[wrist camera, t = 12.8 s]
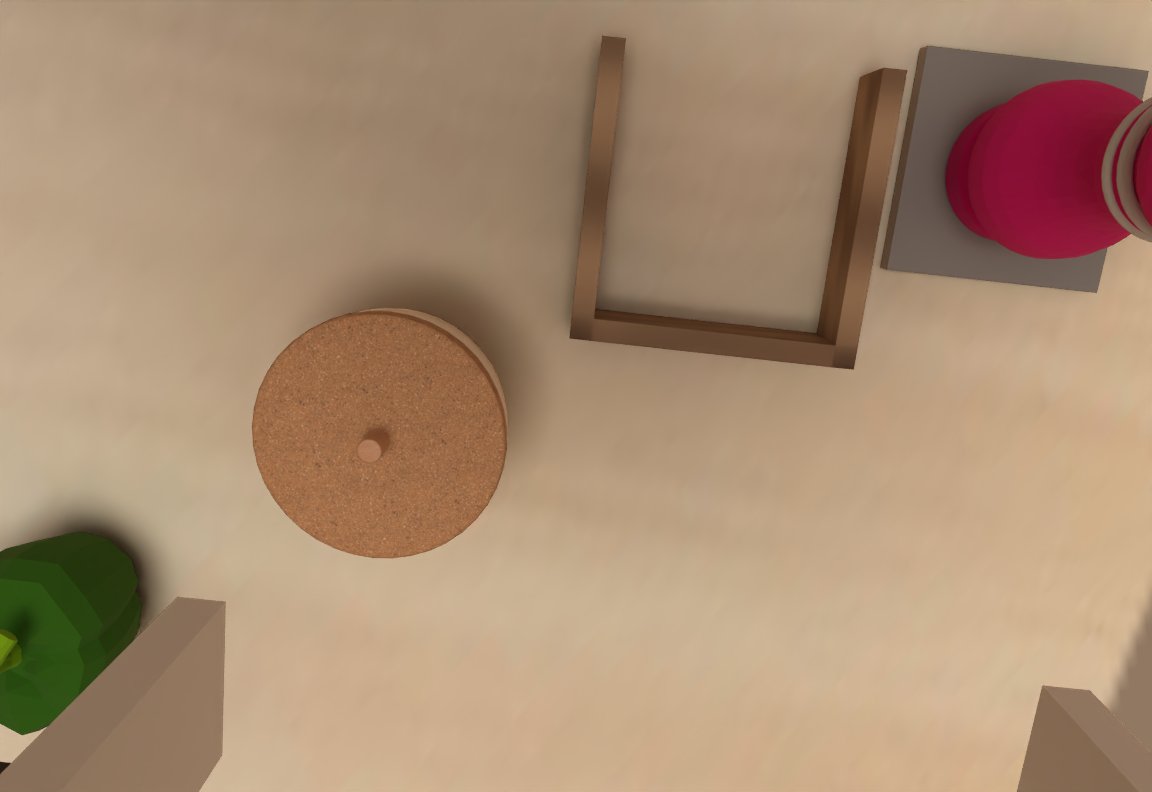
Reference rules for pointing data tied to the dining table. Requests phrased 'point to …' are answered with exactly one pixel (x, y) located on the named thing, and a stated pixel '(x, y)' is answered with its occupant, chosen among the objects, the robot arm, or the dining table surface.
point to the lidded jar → (381, 432)
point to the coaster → (935, 121)
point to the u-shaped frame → (846, 258)
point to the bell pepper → (61, 623)
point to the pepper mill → (1056, 170)
